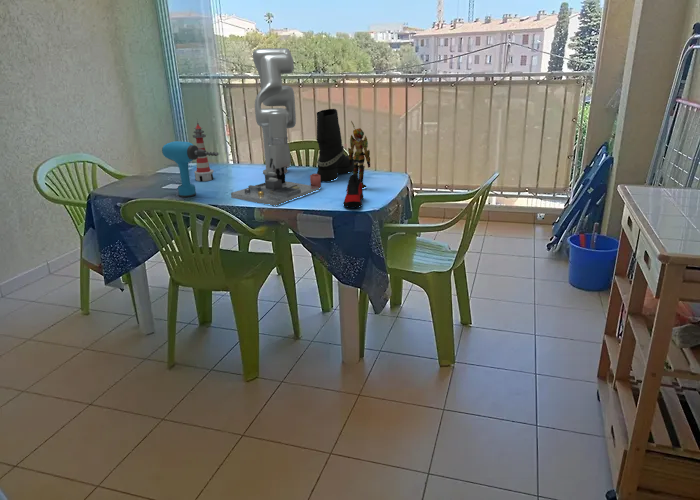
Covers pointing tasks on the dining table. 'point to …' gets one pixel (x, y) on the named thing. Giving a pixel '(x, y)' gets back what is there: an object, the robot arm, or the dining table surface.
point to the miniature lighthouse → (202, 158)
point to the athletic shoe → (353, 192)
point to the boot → (331, 147)
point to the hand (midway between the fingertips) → (281, 182)
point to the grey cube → (273, 183)
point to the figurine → (359, 152)
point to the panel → (273, 193)
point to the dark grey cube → (270, 175)
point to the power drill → (184, 162)
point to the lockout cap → (315, 180)
